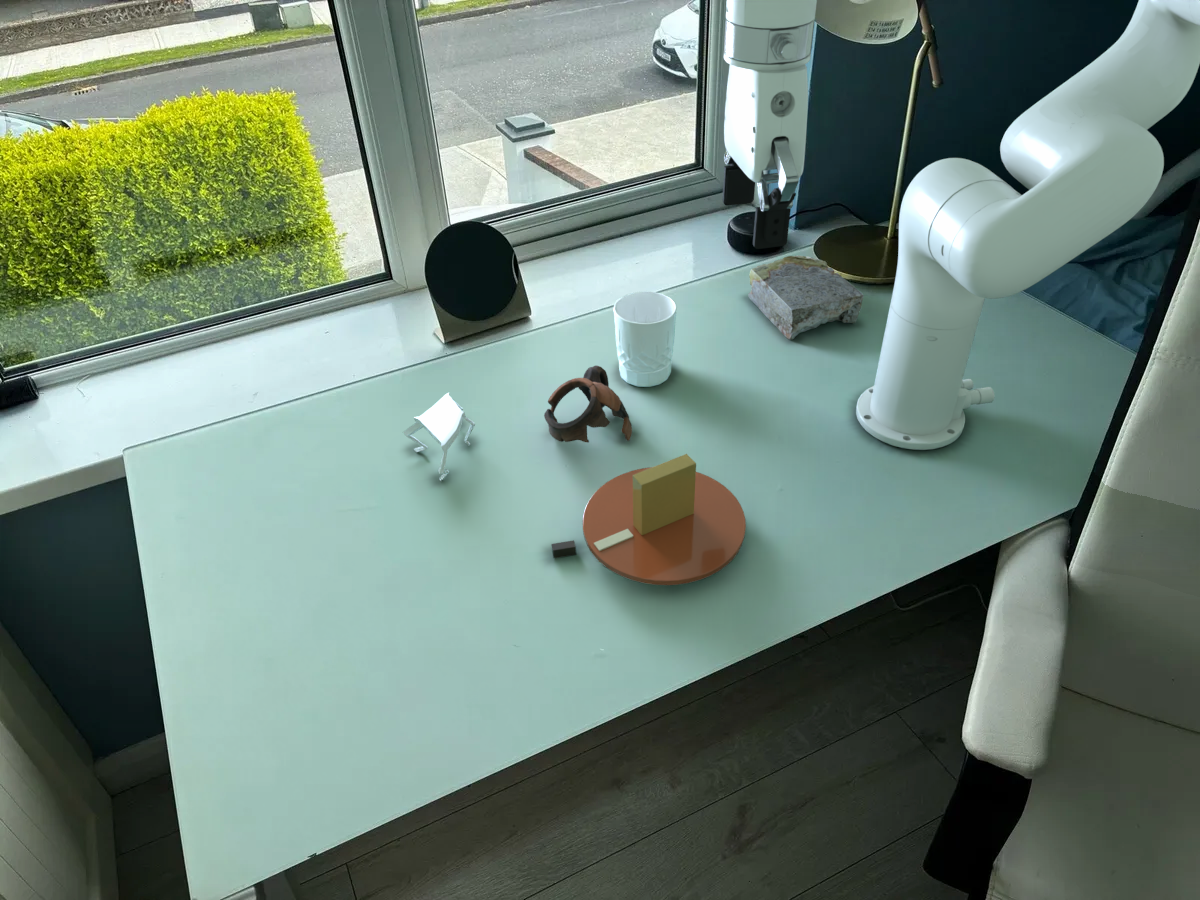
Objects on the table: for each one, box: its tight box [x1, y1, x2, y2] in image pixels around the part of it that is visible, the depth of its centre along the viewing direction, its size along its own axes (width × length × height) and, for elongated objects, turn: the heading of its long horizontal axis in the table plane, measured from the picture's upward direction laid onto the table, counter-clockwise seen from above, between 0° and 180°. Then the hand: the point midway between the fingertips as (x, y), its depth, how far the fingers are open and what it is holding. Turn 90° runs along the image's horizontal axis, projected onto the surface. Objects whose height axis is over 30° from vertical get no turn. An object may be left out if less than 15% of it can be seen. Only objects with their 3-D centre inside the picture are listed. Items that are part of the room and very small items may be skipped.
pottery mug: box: [543, 365, 633, 444], centre depth 109 cm, size 12×10×8 cm
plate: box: [581, 453, 747, 586], centre depth 92 cm, size 17×17×8 cm
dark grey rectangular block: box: [551, 540, 577, 559], centre depth 95 cm, size 17×10×2 cm, turn 101°
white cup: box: [613, 290, 678, 388], centre depth 116 cm, size 8×8×10 cm
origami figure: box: [402, 391, 476, 482], centre depth 106 cm, size 12×8×5 cm
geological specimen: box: [747, 255, 864, 341], centre depth 128 cm, size 11×6×15 cm
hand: (753, 223), depth 89 cm, fingers open, 9 cm apart
